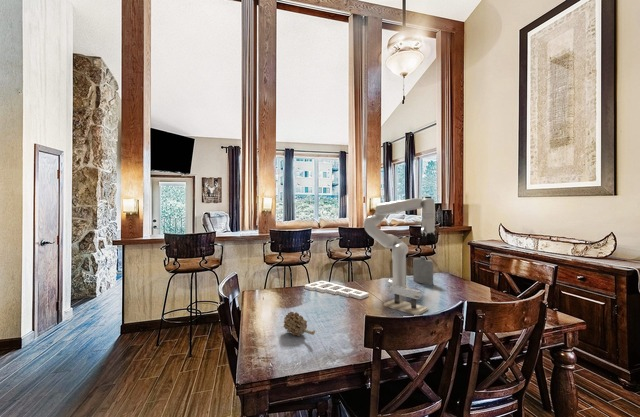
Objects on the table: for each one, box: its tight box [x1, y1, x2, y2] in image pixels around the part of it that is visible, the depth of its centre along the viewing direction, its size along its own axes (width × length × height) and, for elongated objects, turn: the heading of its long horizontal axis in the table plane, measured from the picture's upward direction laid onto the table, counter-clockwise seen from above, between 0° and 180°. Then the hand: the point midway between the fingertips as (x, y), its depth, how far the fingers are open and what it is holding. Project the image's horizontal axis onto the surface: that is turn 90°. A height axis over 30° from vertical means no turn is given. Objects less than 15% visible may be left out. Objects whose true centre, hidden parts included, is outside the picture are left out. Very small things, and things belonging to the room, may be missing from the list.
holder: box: [304, 280, 370, 300], centre depth 212 cm, size 45×18×3 cm, turn 43°
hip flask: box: [412, 256, 434, 286], centre depth 233 cm, size 16×4×20 cm, turn 43°
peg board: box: [383, 293, 429, 316], centre depth 179 cm, size 22×12×8 cm, turn 44°
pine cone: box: [283, 311, 316, 337], centre depth 143 cm, size 22×10×10 cm, turn 47°
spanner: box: [389, 285, 423, 300], centre depth 179 cm, size 20×4×4 cm, turn 44°
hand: (428, 241), depth 210 cm, fingers open, 9 cm apart
